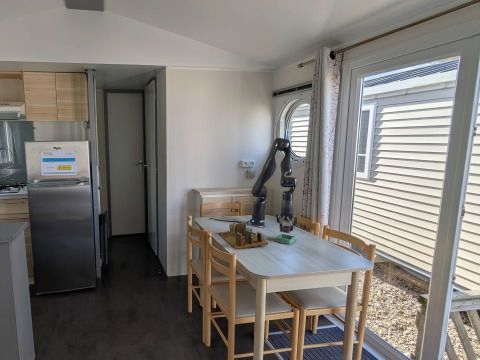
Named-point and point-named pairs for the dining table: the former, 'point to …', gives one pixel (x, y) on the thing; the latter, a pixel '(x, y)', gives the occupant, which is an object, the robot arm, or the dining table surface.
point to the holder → (285, 239)
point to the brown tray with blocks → (242, 236)
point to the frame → (285, 229)
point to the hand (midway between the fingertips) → (286, 229)
